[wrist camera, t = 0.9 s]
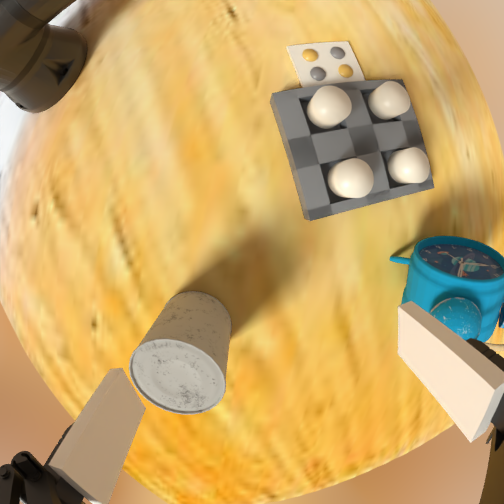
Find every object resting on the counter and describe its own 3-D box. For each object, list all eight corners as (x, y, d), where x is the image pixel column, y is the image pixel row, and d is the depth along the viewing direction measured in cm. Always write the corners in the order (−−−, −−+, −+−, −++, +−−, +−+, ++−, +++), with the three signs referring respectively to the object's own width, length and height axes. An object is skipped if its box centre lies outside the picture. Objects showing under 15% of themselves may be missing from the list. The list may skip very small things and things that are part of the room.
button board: (269, 101, 29) (272, 93, 26) (392, 86, 28) (402, 79, 26) (304, 218, 32) (310, 220, 29) (421, 187, 31) (434, 187, 29)
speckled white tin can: (159, 345, 35) (130, 400, 23) (165, 283, 34) (128, 326, 21) (225, 359, 36) (218, 422, 24) (238, 299, 34) (234, 351, 22)
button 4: (383, 153, 27) (398, 149, 24) (409, 149, 27) (424, 145, 24) (392, 186, 28) (407, 185, 25) (416, 180, 28) (432, 179, 25)
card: (286, 48, 27) (286, 45, 27) (346, 43, 27) (348, 40, 26) (303, 91, 29) (304, 89, 28) (364, 84, 29) (367, 82, 28)
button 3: (363, 91, 26) (375, 81, 22) (389, 89, 26) (403, 80, 22) (374, 121, 27) (387, 114, 23) (399, 118, 27) (414, 112, 23)
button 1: (301, 99, 26) (308, 88, 23) (334, 94, 26) (344, 83, 23) (312, 131, 27) (321, 123, 24) (345, 125, 27) (356, 118, 23)
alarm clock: (460, 228, 33) (558, 255, 13) (456, 290, 35) (540, 340, 15) (374, 240, 33) (485, 289, 13) (373, 312, 35) (456, 398, 15)
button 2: (323, 165, 28) (333, 162, 24) (355, 158, 28) (368, 155, 24) (332, 201, 29) (343, 202, 25) (364, 193, 28) (377, 193, 25)
